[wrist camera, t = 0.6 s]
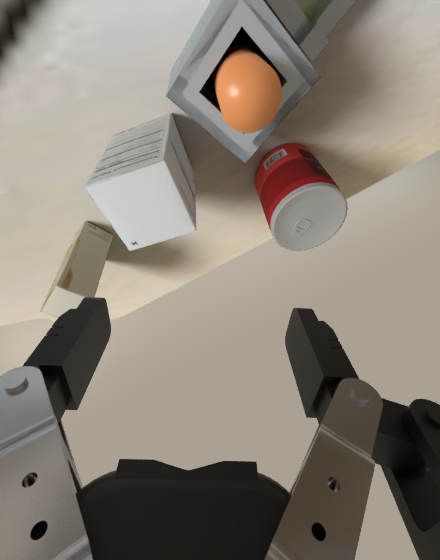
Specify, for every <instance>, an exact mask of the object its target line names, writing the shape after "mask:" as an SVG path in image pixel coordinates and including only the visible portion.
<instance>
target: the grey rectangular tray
mask: <svg viewBox="0 0 440 560" xmlns="http://www.w3.org/2000/svg"><path fill="white" fill-rule="evenodd" d="M355 1H356V0H264V2H265V3H266V5H267V6H268V7H269V9H270V10H271V11H272V13H273V14H274V15H275V17H276V18H277V19H278V21H279V22H280V23H281V25H282V26H283V27H284V29H285V30H286V31H287V33H288V34H289V36H290V37H291V38H292V40H293V41H294V42H295V44H296V45H297V46H298V48H299V49H300V50H301V52H302V53H303V54H304V56H305V57H306V58H307V60H309V61H311V62H313V61H314V60H315V59H316V58H317V56H318V55H319V54H320V53H321V52H322V50H323V49H324V48H325V47H326V46H327V44H328V43H329V42H330V41H329V40H328V38H327V37H326V36H327V35H328V34H329V33H330V31H331V30H332V29H333V28H334V26H335V25H336V24H337V23H338V22H339V20H340V19H341V18H342V17H343V16H344V14H345V13H346V12H347V11H348V9H349V8H350V7H351V6H352V5H353V3H354V2H355Z"/></svg>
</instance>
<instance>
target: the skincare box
mask: <svg viewBox="0 0 440 560" xmlns="http://www.w3.org/2000/svg"><path fill="white" fill-rule="evenodd" d="M112 239H113V235H112V234H110V233H108V232H106V231H104V230H102V229H100V228H98V227H96V226H94V225H92V224H90V223H88V222H84V223H83V225H82V226H81V228H80V229H79V231H78V233H77V234H76V236H75V238H74V240H73V241H72V243H71V245H70V247H69V249H68V252H67V254H66V256H65V258H64V260H63V263H62V265H61V267H60V269H59V271H58V273H57V276H56V278H55V280H54V282H53V284H52V286H51V288H50V291H49V293H48V295H47V297H46V299H45V301H44V304H43V306H42V308H41V310H40V312H43V313H46V314H49V315H52V316H55V317H58V318H59V316H61V315H62V314H64V313H65V312H66V311H68V310H69V309H76V308H77V307H78V306H79V304H80V303H81V301H82V300H83V298H85V297H94V296H95V293H96V290H97V287H98V284H99V280H100V277H101V274H102V271H103V267H104V264H105V261H106V258H107V255H108V251H109V248H110V245H111V242H112Z"/></svg>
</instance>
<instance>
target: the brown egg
mask: <svg viewBox="0 0 440 560" xmlns="http://www.w3.org/2000/svg"><path fill="white" fill-rule="evenodd" d="M213 82H214V87H215V91H216V95H217V98H218V102H219V106H220V109H221V113H222V115H223V118H224V119H225V121H226V122H227V124H228V125H229V126H230V127H231V128H233V129H234V130H236V131H238V132H241V133H254V132H257V131H260V130H262V129H263V128H265V127H266V126H267V125H269V124H270V122H271V121H272V120H273V119H274V117H275V116H276V114H277V112H278V110H279V107H280V103H281V98H282V88H281V83H280V80H279V77H278V75H277V73H276V72H275V70H274V69H273V68H272V67H271V66H270V65H269V64H267V63H266V62H265V61H264V60H263V59H262V58H261V57H260V56H259V55H257V54H256V53H255V52H254V51H253V50H252V49H250V48H248V47H246V46H242V45H237V46H233V47H230V48H228V49H227V50H226V51H225V53H224V54H223V56H222V58H221V59H220V61H219V62H218V64H217V65H216V67H215V68H214V73H213Z"/></svg>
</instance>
